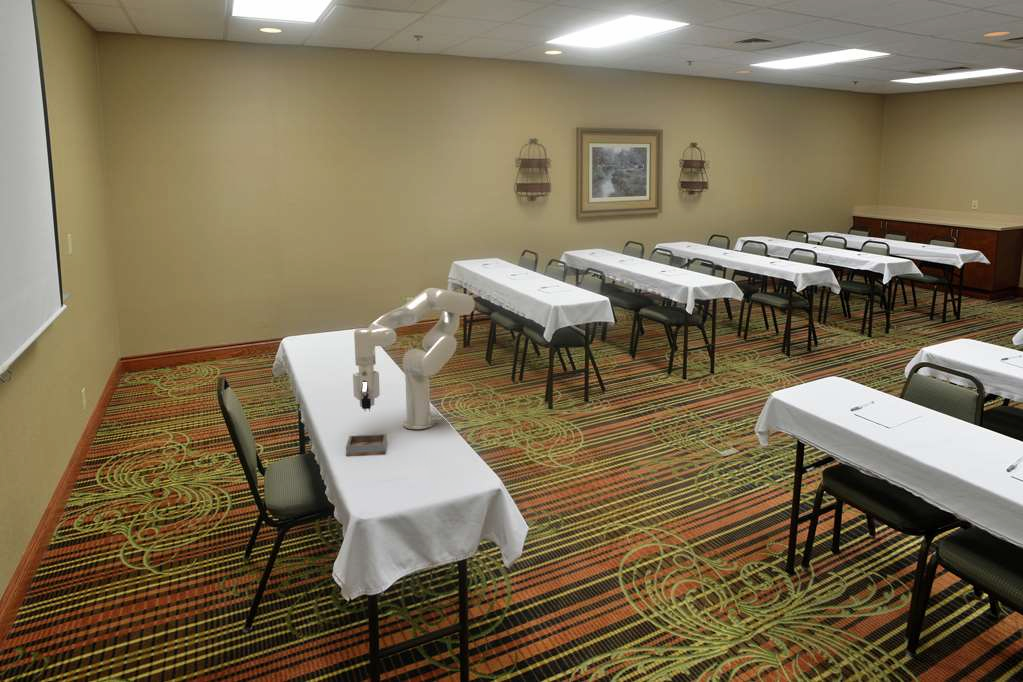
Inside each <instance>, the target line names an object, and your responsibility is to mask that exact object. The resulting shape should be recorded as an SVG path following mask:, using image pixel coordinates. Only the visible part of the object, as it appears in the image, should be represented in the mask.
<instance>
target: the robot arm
mask: <svg viewBox="0 0 1023 682" xmlns="http://www.w3.org/2000/svg"><path fill="white" fill-rule="evenodd" d="M475 304H476V303H475V300H474V298H473V296H471V295H470V294H467V293H462V292H457V291H456V292H455V291H452V290H447V289H442V288H436V287H429V288H428V287H427V288H426V289H424V290H422V292H420V293H418V294H417V295H416V296H415V297H413V298H412V299H411V300H409V301H408V302H406V303H405V304H404V305H403V306H401V307H398V308H395V309H394V310H391V311H388V312H387V313H385V314H383V315H381V316H380V317H379V318H377V319H375V321H373V322H371V323H370V325H369V326H368V327H359V328H355V330H354V333H353V334H354V335H353V336H354V337H353V339H354V357H355V358H354V361H355V366H357V367H358V373H359V385H360V391H361V392H362V407H361V409H362V410H364V409H366V410H367V409H368V410H369V409H370V410H371V409H372V406H371V402H370V390H371V391H373V390H374V383H373V382H374V381H373V373H374V371H375V369H374V366H375V365H376V361H377V360H376V359H377V358H376V347H390V346H392V345H393V344H394V343H395V342H396V340H397V336H398V335H397V333H396V331H395V330H396V329H399V328H401V327H407V326H412V325H416V324H417V323H419V322H421V320H422V319H424V318H425V317H426V316H427V315H429V314H431V312H433V311H434V310H437V311H441V315H440V318H439V319H438V321H437V322H436V324H434V325H433V327H432V328H430V330H429V331H428V332H427V333H426V334H425V335H424V337H423V339H422V341H421V344H422V348H423V349H420V348H411V349H408V350H407V351H406V352H404V355H403V357H402V367H403V373H404V379H405V380H404V382H405V401H406V402H405V403H406V404H405V405H406V408H405V409H406V420H403V422H402V425H403V427H404V428H406V429H409V430H410V429H411V430H424V429H428V428H431V427H433V426H434V425H435V421H437V422H439V421H442V415H439V414H432V411H431V403H430V402H431V401H430V400H431V399H430V398H431V397H430V393H431V392H430V378H429V377H432V376H434V375H436V374H438V372H440V370H441V369H442V368H443V367H444V366H445V364H447V363H448V361H449V360H450V359H451V358H452V356H453V355H454V354H455V352H456V350H457V346H458V343H457V342H458V341H457V339H456V337H455V336H454V335H455V334H456V332H457V331H458V330H459V326H460V315H462V316H466V315H469V314H471V313H472V312H473V311H474V310H475V307H476V305H475ZM361 388H362V390H361ZM367 389H368V390H367ZM367 392H368V393H367Z"/></svg>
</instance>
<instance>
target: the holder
mask: <svg viewBox="0 0 1023 682" xmlns="http://www.w3.org/2000/svg"><path fill="white" fill-rule="evenodd" d="M387 446H388V434H387V433H385V434H384V433H383V434H382V433H381V434H362V435H359V434H358V435H349V437H348V439H347V442H346V445H345V454H346V455H345V456H346V457H354V456H355V457H356V456H357V457H359V456H375V455H376V456H378V455H382V456H383V455H386V452H387Z"/></svg>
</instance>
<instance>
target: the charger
mask: <svg viewBox="0 0 1023 682" xmlns="http://www.w3.org/2000/svg"><path fill="white" fill-rule="evenodd" d="M352 381H353V383H352V384H353V397H354V398H356V400H358V401H359V407H360V408H362V392H361V391H360V385H359V372H355V373H352ZM373 381H374V382H373V383H374V390H373V391H371V390H370V402H371V407H373V406H375V399H378V397H379V396H380V394H381V393H380V373H379V372H378V371H377V370H374V373H373ZM361 390H362V388H361ZM367 390H368V389H367ZM367 393H368V392H367ZM363 410H364V412H367V409H363ZM369 411H371V408H370V409H368V412H369Z"/></svg>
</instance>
